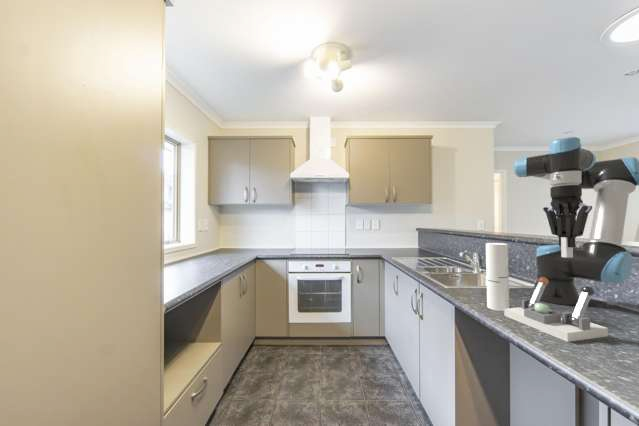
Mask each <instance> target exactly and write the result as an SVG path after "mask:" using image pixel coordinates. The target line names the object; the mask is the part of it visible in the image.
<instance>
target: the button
mask: <svg viewBox="0 0 639 426" xmlns="http://www.w3.org/2000/svg"><path fill="white" fill-rule="evenodd" d="M534 305H535V312H538V313H541V314H549V309H550V305H549V304H546V303H542V302H539V303H535V304H534Z"/></svg>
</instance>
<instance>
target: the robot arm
mask: <svg viewBox="0 0 639 426" xmlns="http://www.w3.org/2000/svg"><path fill="white" fill-rule="evenodd" d="M581 147H582V143H581V138H579V137H577V136H572V137H564V138H558V139H555V140H552V141H551V142H550V143H549V148H548V149H549V150H548V153H547V154H540V155H534V156H529V157H522V158H520V159H517V160H516V161H515V162H514V165H513V171H514V174H515V175H516V176H517V177H519V178H527V177H533V178H538V179H539V178H540V179H543V180H547V181H549V183H550V186H551V187H550V188H549V189H550V191H549V192H550V198H551V201H550V203H549V205H548V206H546V207H543V208H542V210H543V211H544V213H545V215H546V218H547V221H548V225H549V228H550V232H551V234H552V235H554V236H557V237H558V244H548V245H540V246H538V247H537V248H536V255H535V257H536V259H535V260H536V281H535V284H534V286H533V289H532V293H531V294H532V296H533V293H534V291H535V289H536V286H537V284H538V279H539V278H540V277H545V278H547V279H548V281H549V282H548V284H547V285H546V287H545V289H544V291H543V294H542V296H541V298H540V301H543V302H546V303H551V304H556V305H565V306H566V305H567V306H576V305H577V303H578V300H579V298H580V294H579V291H578V288H577V287H576V285H575V279H583V280H586V281H587V280H589V281H595V282H601V283H606V284H608V283H609V284H610V283H611V284H618V285H619V284H623V283H625V282H626V281H627V280H628V279H629V278H630V276H631V273H632V269H633V262H634V259H633V255H632V254H631V253H630V252H627V248H626V247H625V246H624V245H622V242H623V235H624V229H625V223H626V222H625V221H626V215H627V210H628V203H629V202H628V201H629V197H630V196H629V195H630V194H631V193H634V192H635V191H636V187H637V186H639V159H638V158H637V157H633V156H632V157H631V156H630V157H619V158H616V159H608V160H602V161H600V160H599V161H597V156H596V155H595V154H594V153H593V152H592V151H590V150H588V149H585V148H581ZM591 189H593V190H594V192H596V198H595V199H596V200H595V205H594V211H593V216H592V221H591V227H590V233H589V239H588V241H585V242H583V243H582V244H581V248H575V247H576V238H577V237H581V236H584V232H585V228H586V224H587V221H588V217H589V213H590V212H591V211H592V209H593V206H592V205H587V204H585V203H584V201H583V200H582V195H583V191H582V190H591ZM532 296H531V297H532Z"/></svg>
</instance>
